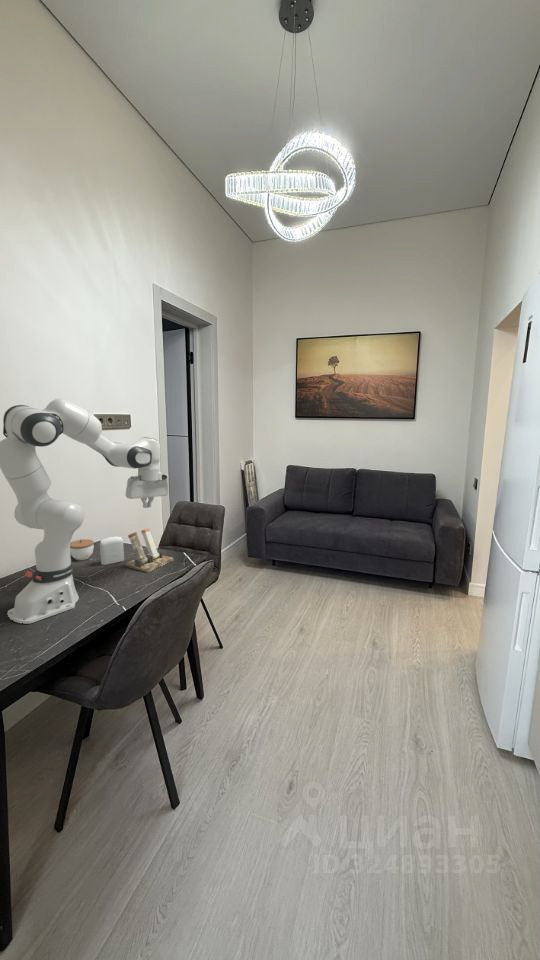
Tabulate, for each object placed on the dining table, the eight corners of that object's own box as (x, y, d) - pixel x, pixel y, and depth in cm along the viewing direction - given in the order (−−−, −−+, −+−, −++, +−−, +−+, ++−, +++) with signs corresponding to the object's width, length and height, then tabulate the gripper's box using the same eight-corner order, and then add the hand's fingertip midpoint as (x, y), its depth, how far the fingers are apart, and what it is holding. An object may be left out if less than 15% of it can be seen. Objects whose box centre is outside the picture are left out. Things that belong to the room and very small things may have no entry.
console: (147, 572, 168) (145, 539, 165) (125, 566, 175) (123, 533, 172) (173, 561, 182) (172, 529, 179) (152, 555, 188) (151, 525, 186)
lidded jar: (75, 554, 189) (73, 536, 187) (97, 553, 190) (96, 535, 188) (66, 562, 178) (64, 543, 177) (90, 561, 179) (88, 543, 178)
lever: (153, 559, 176) (143, 529, 177) (150, 560, 178) (140, 531, 178) (160, 556, 180) (150, 527, 181) (156, 557, 181) (146, 529, 182)
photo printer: (102, 566, 175) (100, 540, 172) (100, 563, 178) (98, 537, 176) (125, 561, 180) (123, 536, 178) (123, 558, 184) (121, 534, 182)
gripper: (132, 477, 152) (131, 511, 154) (171, 475, 170) (169, 506, 171) (123, 475, 156) (121, 508, 157) (161, 474, 173) (160, 504, 174)
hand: (147, 507), depth 164 cm, fingers closed
